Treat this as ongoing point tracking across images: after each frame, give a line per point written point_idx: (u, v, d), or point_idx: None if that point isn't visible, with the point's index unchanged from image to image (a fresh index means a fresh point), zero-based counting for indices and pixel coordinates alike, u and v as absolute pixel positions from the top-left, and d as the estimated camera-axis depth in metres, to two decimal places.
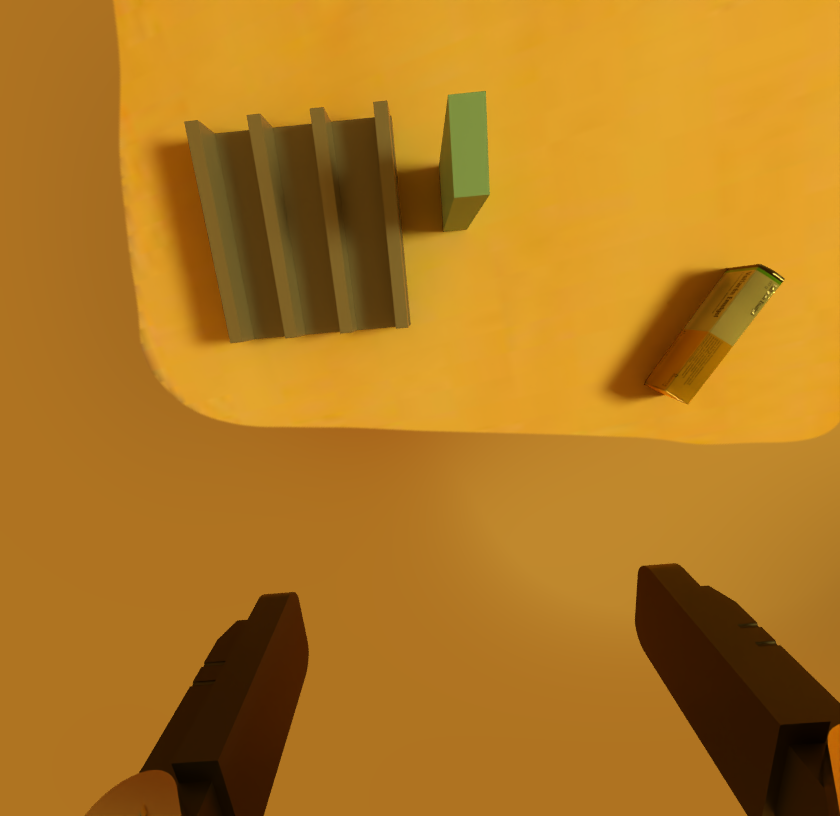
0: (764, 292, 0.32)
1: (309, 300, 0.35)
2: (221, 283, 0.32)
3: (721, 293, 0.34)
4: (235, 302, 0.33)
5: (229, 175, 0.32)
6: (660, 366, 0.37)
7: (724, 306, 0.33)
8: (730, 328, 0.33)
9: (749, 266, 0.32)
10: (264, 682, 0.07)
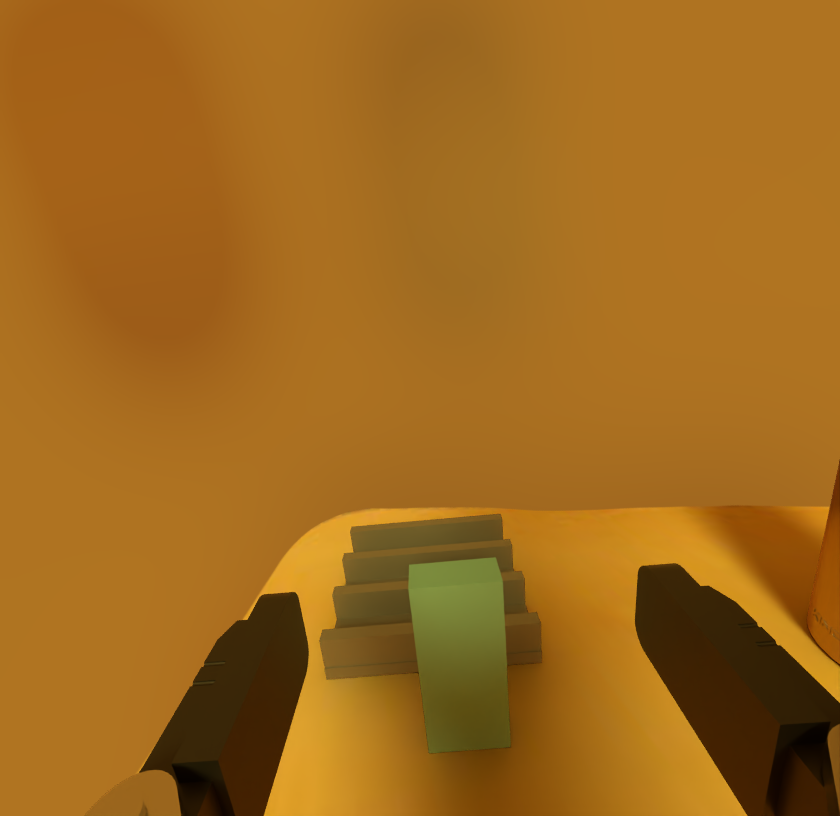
0: None
1: None
2: (395, 524, 0.43)
3: None
4: (380, 531, 0.42)
5: None
6: None
7: None
8: None
9: None
10: (265, 682, 0.07)
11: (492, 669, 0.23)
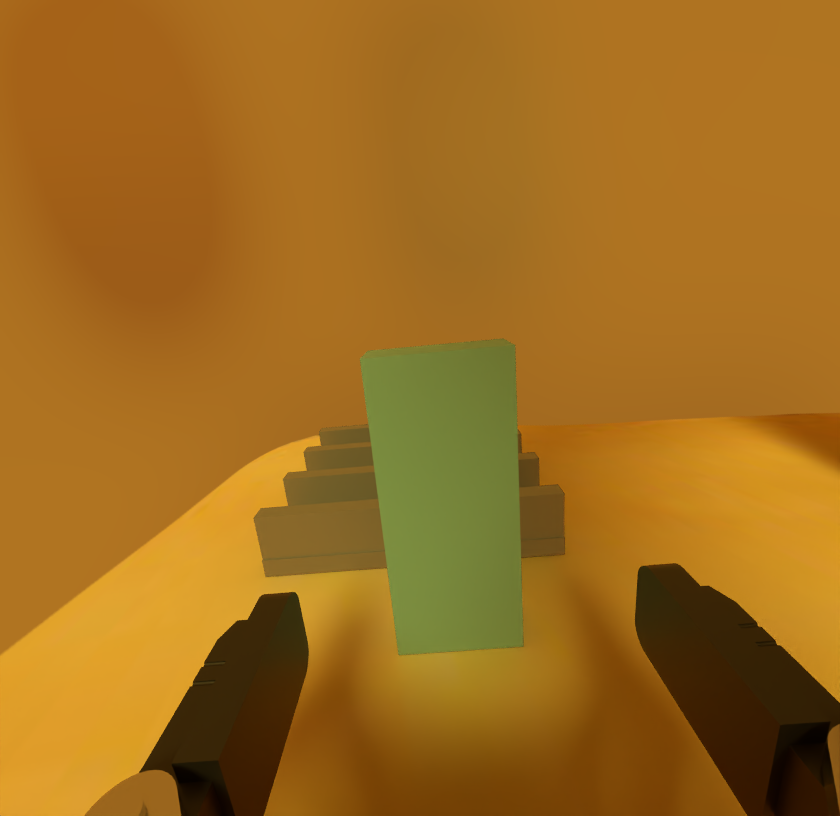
0: None
1: None
2: None
3: None
4: (356, 431, 0.34)
5: None
6: None
7: None
8: None
9: None
10: (265, 682, 0.07)
11: (496, 510, 0.14)
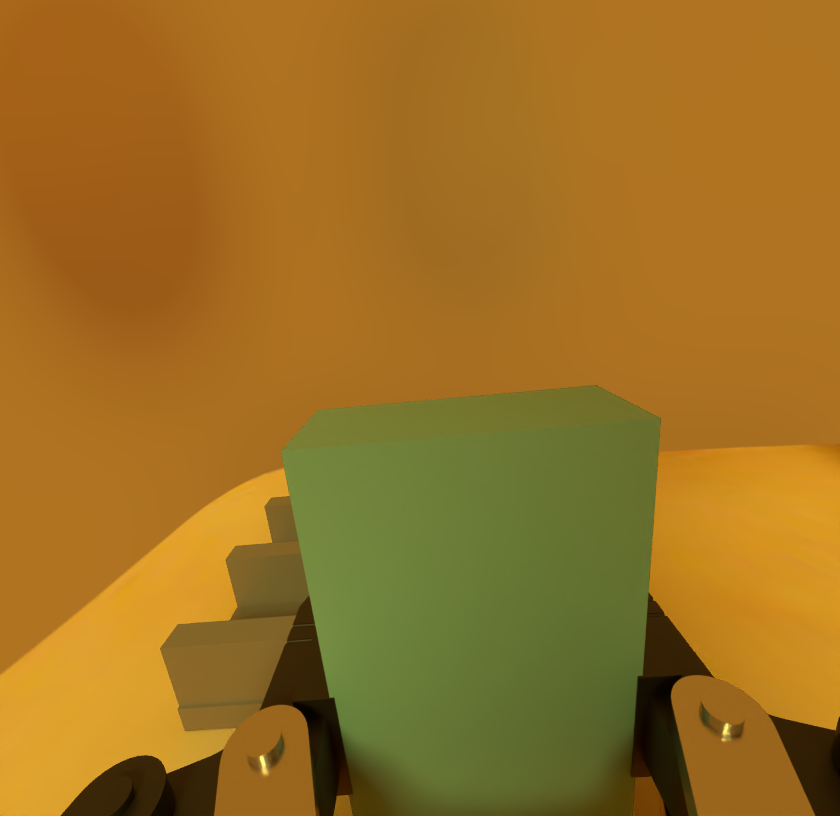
0: None
1: None
2: None
3: None
4: None
5: None
6: None
7: None
8: None
9: None
10: None
11: (587, 752, 0.07)
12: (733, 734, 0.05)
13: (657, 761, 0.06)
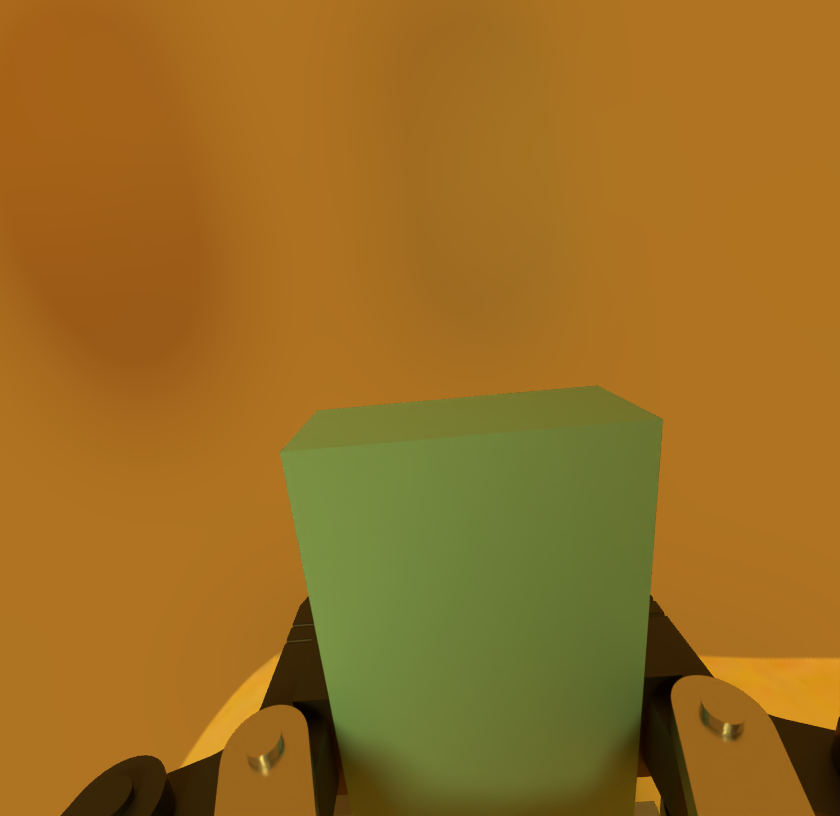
0: None
1: None
2: None
3: None
4: None
5: None
6: None
7: None
8: None
9: None
10: None
11: (588, 754, 0.07)
12: (733, 734, 0.05)
13: (657, 761, 0.06)
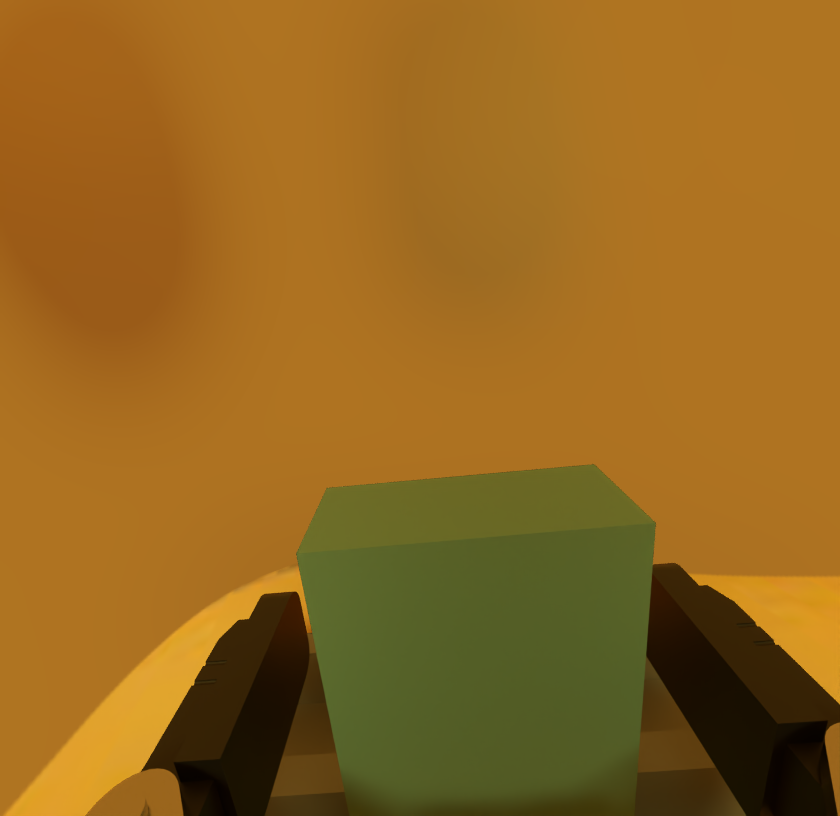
0: None
1: None
2: None
3: None
4: None
5: None
6: None
7: None
8: None
9: None
10: (266, 681, 0.07)
11: None
12: None
13: None
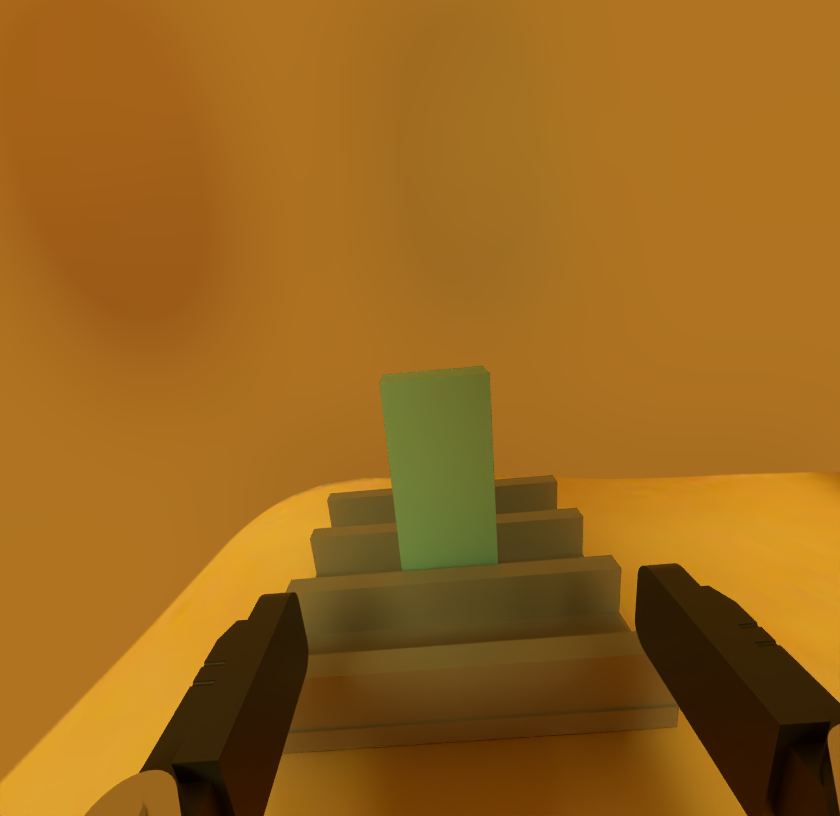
0: None
1: None
2: None
3: None
4: (372, 499, 0.28)
5: None
6: None
7: None
8: None
9: None
10: (265, 682, 0.07)
11: (477, 491, 0.20)
12: None
13: None
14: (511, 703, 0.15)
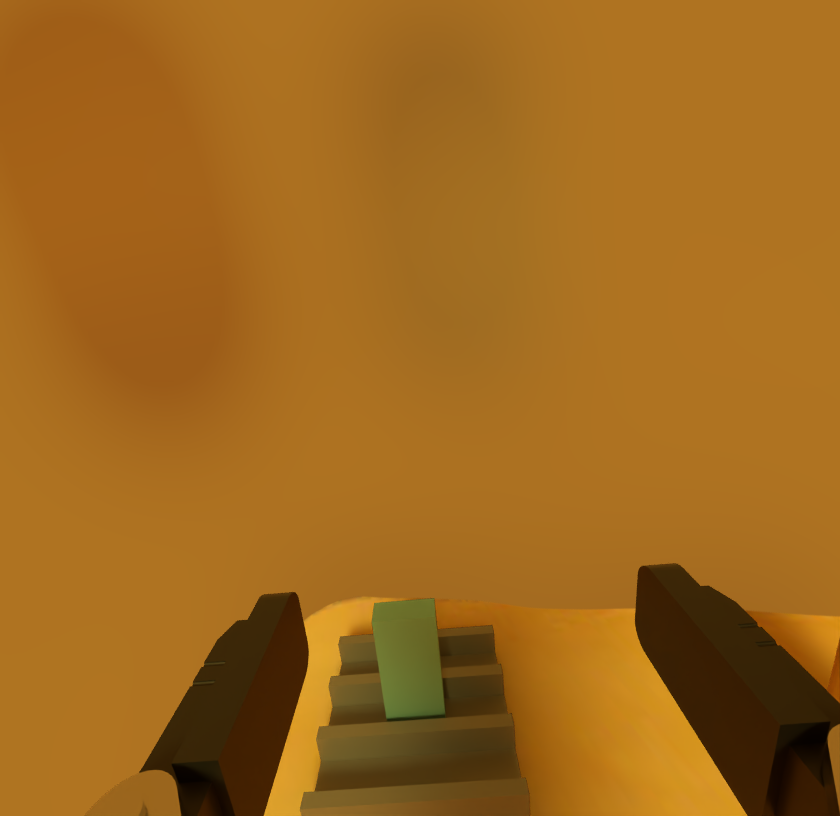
0: None
1: (361, 713, 0.37)
2: None
3: None
4: (369, 644, 0.41)
5: (466, 659, 0.41)
6: None
7: None
8: None
9: None
10: (264, 682, 0.07)
11: (431, 676, 0.33)
12: None
13: None
14: None
